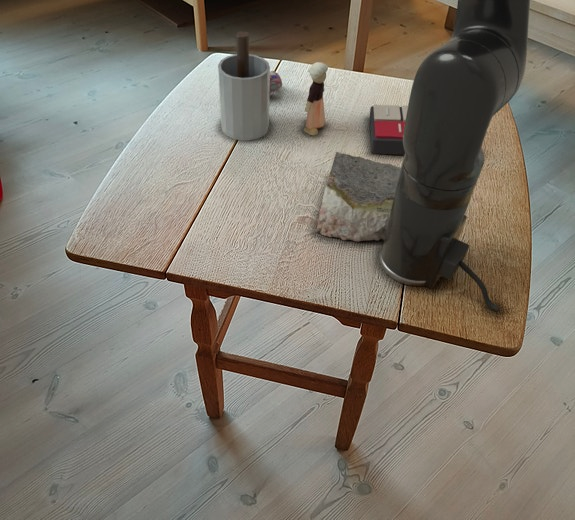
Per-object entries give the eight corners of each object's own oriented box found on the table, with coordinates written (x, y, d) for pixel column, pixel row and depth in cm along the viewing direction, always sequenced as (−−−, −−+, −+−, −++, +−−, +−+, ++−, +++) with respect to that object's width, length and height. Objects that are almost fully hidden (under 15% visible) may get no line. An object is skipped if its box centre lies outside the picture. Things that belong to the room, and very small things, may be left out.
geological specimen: (402, 161, 87) (393, 219, 77) (394, 192, 92) (384, 251, 81) (336, 148, 89) (319, 203, 78) (331, 178, 93) (314, 235, 82)
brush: (259, 123, 101) (260, 33, 88) (246, 133, 99) (244, 42, 86) (242, 116, 102) (240, 26, 90) (229, 125, 100) (225, 34, 88)
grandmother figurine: (321, 140, 99) (327, 75, 90) (300, 136, 99) (304, 72, 90) (327, 117, 104) (334, 53, 95) (307, 114, 105) (312, 50, 95)
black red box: (370, 102, 102) (452, 104, 101) (368, 122, 105) (448, 124, 104) (373, 136, 94) (461, 138, 93) (370, 156, 97) (456, 159, 96)
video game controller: (232, 106, 108) (234, 86, 101) (228, 86, 109) (230, 64, 103) (281, 101, 110) (286, 81, 103) (276, 82, 111) (281, 60, 105)
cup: (277, 124, 102) (279, 64, 93) (249, 146, 97) (248, 84, 88) (241, 108, 105) (239, 48, 96) (211, 129, 100) (207, 67, 91)
